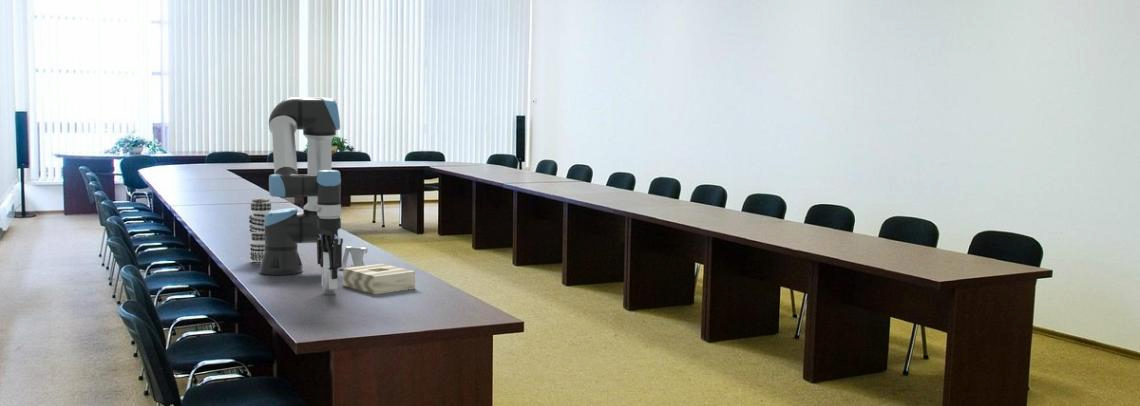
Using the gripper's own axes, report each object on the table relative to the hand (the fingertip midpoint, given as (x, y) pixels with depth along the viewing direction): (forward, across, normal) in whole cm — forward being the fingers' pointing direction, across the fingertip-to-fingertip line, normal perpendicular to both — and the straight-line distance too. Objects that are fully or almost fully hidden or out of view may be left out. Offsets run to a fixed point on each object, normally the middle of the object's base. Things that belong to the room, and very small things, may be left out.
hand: (329, 287), depth 314 cm
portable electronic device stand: (+2, -36, +31) cm, 48 cm away
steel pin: (+2, 0, 0) cm, 2 cm away
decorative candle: (+2, -73, +12) cm, 74 cm away
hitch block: (+2, 0, +19) cm, 19 cm away
